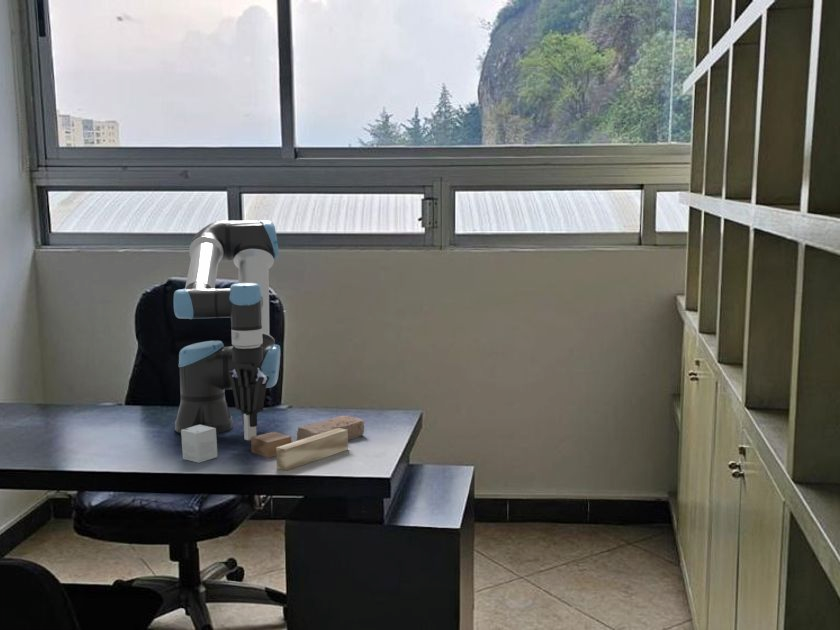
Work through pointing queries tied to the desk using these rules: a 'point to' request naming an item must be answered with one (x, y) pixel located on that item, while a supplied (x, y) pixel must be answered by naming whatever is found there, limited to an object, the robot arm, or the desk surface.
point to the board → (311, 449)
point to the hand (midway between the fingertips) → (250, 438)
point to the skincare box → (199, 443)
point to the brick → (333, 427)
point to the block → (268, 443)
